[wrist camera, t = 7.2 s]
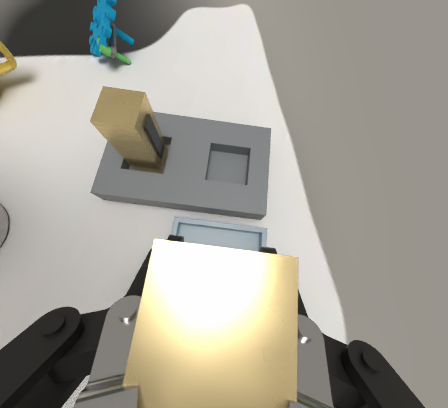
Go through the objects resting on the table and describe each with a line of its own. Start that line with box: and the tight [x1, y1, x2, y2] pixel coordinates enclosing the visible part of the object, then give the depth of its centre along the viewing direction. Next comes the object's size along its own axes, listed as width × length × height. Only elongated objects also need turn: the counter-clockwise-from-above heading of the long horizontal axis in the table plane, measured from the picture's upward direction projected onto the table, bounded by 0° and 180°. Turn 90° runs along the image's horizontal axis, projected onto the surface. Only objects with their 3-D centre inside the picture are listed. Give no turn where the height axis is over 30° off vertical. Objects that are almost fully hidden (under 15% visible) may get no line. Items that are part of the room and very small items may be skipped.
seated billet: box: [90, 86, 168, 174], centre depth 22 cm, size 4×4×10 cm
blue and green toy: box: [89, 0, 134, 64], centre depth 32 cm, size 11×6×10 cm
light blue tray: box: [171, 217, 267, 252], centre depth 23 cm, size 12×12×2 cm
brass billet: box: [122, 239, 298, 408], centre depth 9 cm, size 4×4×10 cm
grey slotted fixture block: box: [90, 112, 271, 220], centre depth 27 cm, size 22×13×3 cm, turn 83°
